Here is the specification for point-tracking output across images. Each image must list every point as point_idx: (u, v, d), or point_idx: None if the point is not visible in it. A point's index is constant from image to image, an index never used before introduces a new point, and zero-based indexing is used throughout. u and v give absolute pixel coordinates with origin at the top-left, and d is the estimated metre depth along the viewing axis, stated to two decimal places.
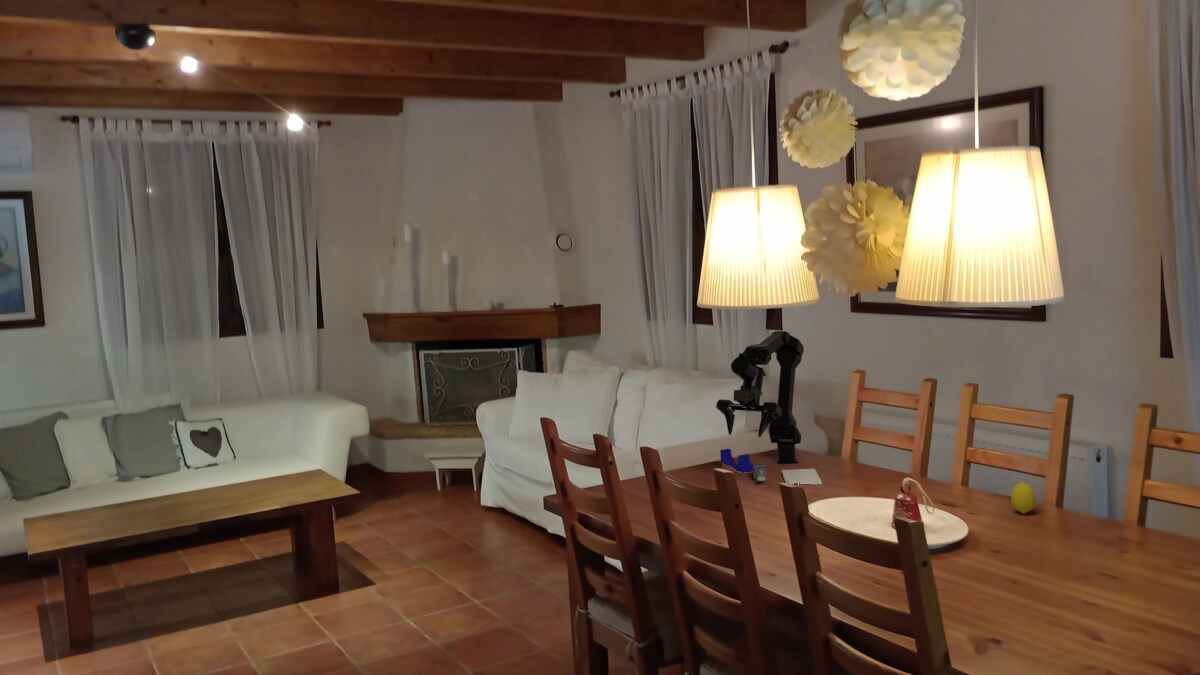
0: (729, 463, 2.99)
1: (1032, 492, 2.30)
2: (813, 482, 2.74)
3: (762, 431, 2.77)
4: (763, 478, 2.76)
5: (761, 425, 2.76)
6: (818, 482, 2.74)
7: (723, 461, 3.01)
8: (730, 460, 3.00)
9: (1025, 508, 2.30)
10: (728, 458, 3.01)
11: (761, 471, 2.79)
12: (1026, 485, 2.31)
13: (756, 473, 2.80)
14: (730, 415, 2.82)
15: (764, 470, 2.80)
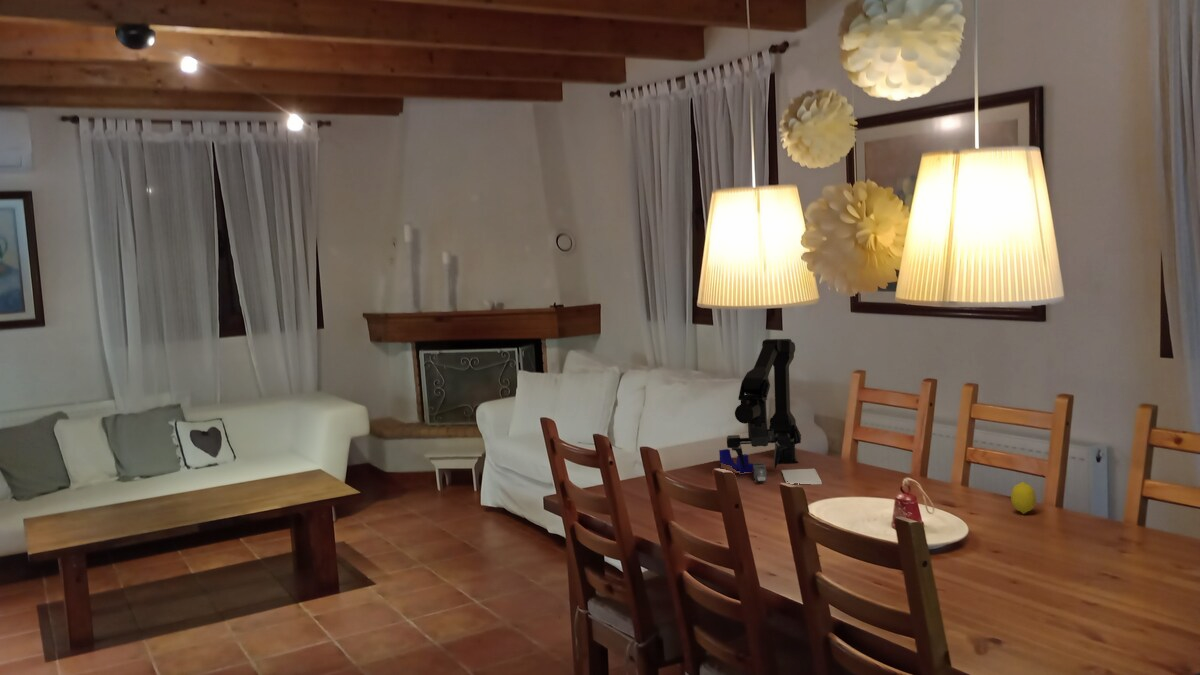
0: (728, 463, 2.99)
1: (1032, 492, 2.30)
2: (813, 482, 2.74)
3: None
4: (763, 478, 2.76)
5: (776, 458, 2.82)
6: (818, 482, 2.74)
7: (722, 461, 3.00)
8: (729, 460, 3.00)
9: (1025, 508, 2.30)
10: (727, 458, 3.00)
11: (761, 471, 2.79)
12: (1026, 485, 2.31)
13: (756, 473, 2.80)
14: None
15: (764, 470, 2.80)
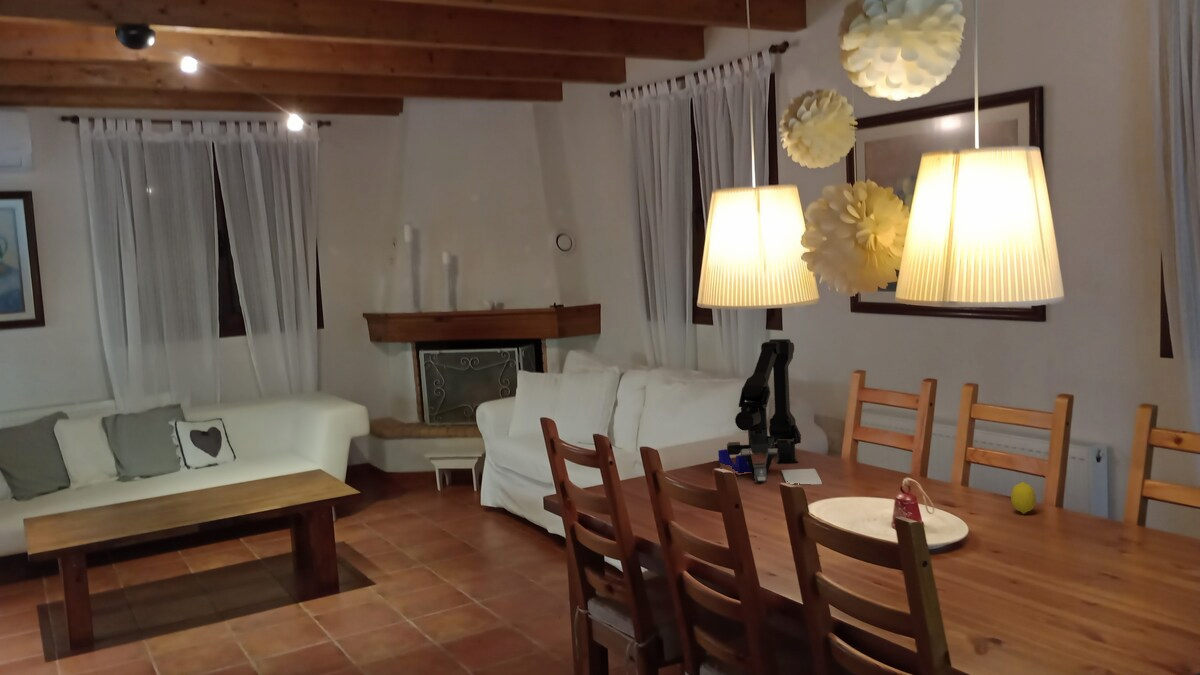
0: (727, 464, 2.99)
1: (1032, 492, 2.30)
2: (813, 482, 2.74)
3: None
4: (763, 478, 2.76)
5: (768, 465, 2.83)
6: (818, 482, 2.74)
7: (721, 461, 3.00)
8: (728, 461, 3.00)
9: (1025, 508, 2.30)
10: (726, 458, 3.00)
11: (761, 471, 2.79)
12: (1026, 485, 2.31)
13: (756, 473, 2.80)
14: (751, 458, 2.83)
15: (764, 470, 2.80)
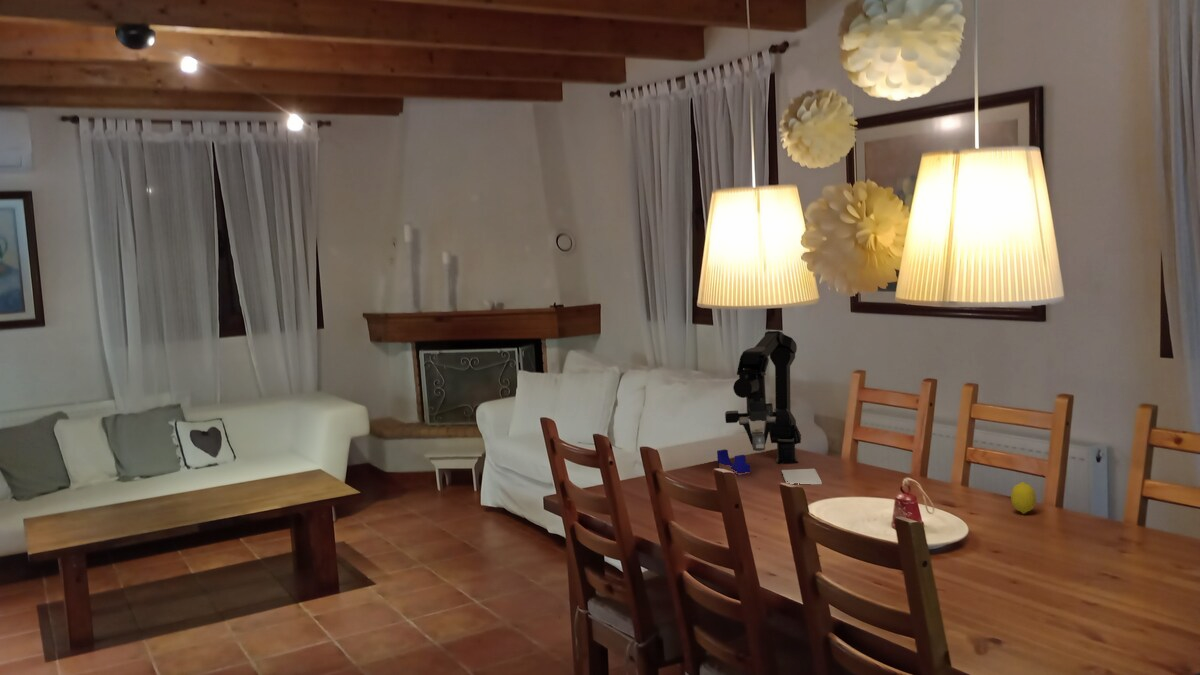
0: (726, 464, 2.98)
1: (1032, 492, 2.30)
2: (813, 482, 2.74)
3: (766, 437, 2.83)
4: (761, 445, 2.75)
5: (766, 433, 2.82)
6: (818, 482, 2.74)
7: (720, 462, 3.00)
8: (727, 461, 2.99)
9: (1025, 508, 2.30)
10: (725, 458, 3.00)
11: (759, 439, 2.78)
12: (1026, 485, 2.31)
13: (754, 441, 2.79)
14: (749, 426, 2.82)
15: (762, 438, 2.79)
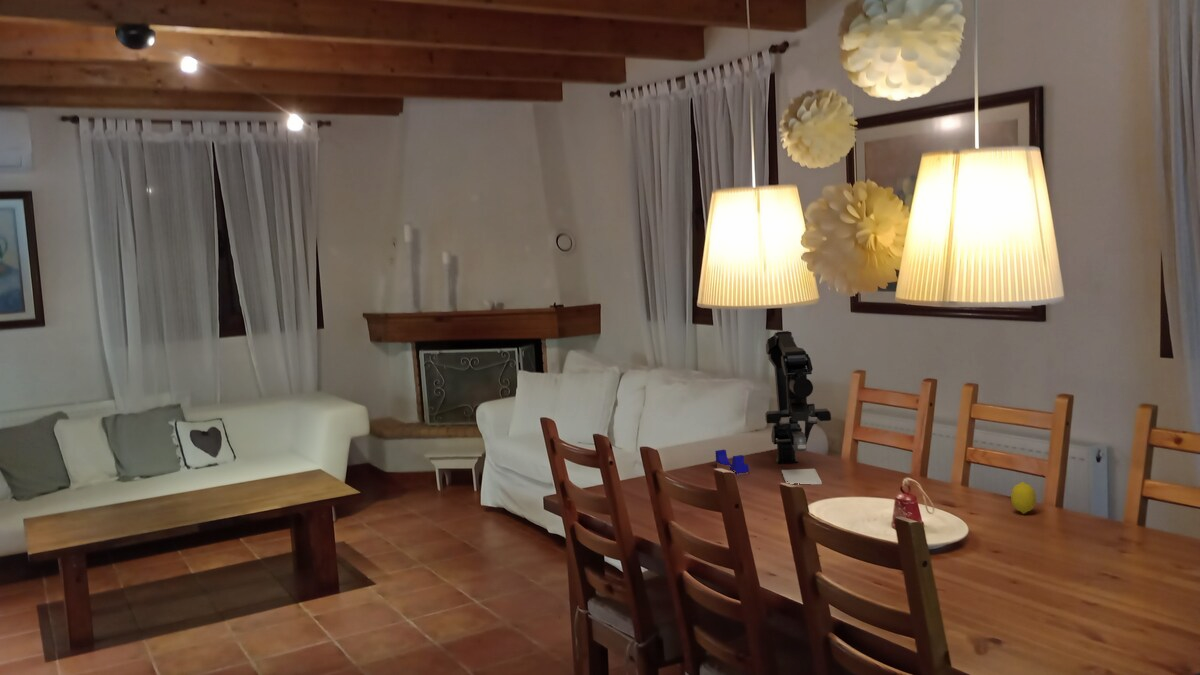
0: (724, 464, 2.98)
1: (1032, 492, 2.30)
2: (813, 482, 2.74)
3: (807, 438, 2.82)
4: (803, 446, 2.74)
5: (807, 434, 2.81)
6: (818, 482, 2.74)
7: (718, 462, 3.00)
8: (725, 461, 2.99)
9: (1025, 508, 2.30)
10: (724, 459, 3.00)
11: (801, 439, 2.77)
12: (1026, 485, 2.31)
13: (796, 441, 2.78)
14: (790, 426, 2.81)
15: (804, 438, 2.78)
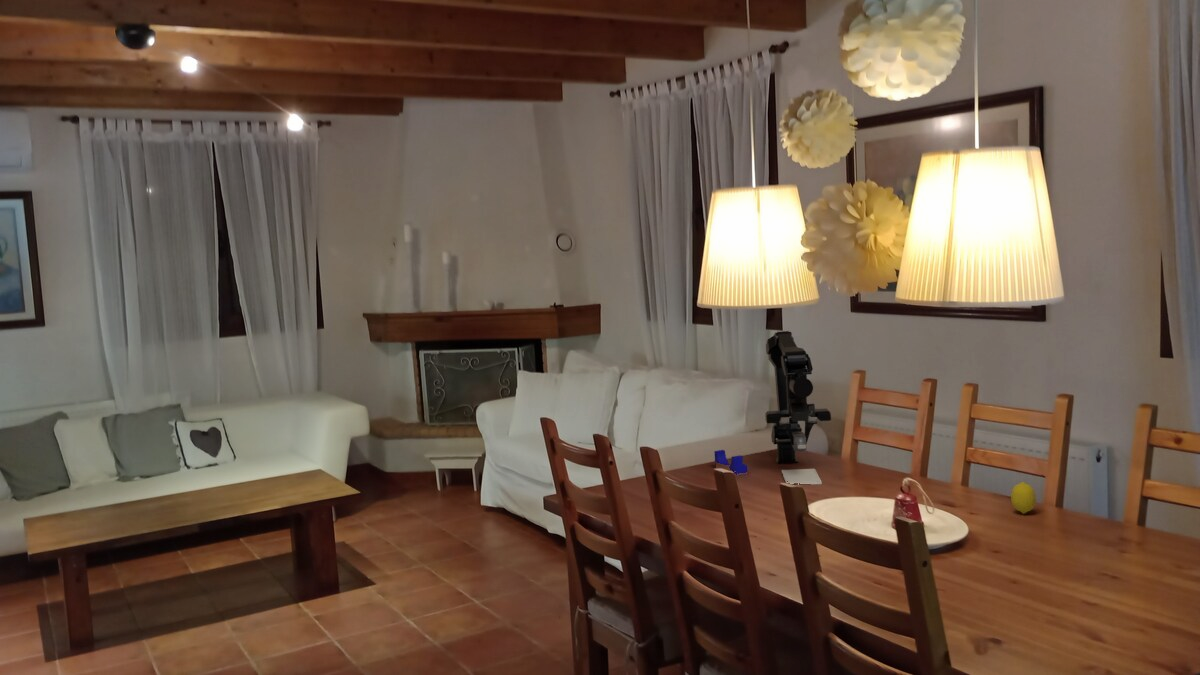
0: None
1: (1032, 492, 2.30)
2: (813, 482, 2.74)
3: (807, 438, 2.82)
4: (803, 446, 2.74)
5: (807, 434, 2.81)
6: (818, 482, 2.74)
7: (717, 462, 2.99)
8: (724, 461, 2.99)
9: (1025, 508, 2.30)
10: (723, 459, 2.99)
11: (801, 439, 2.77)
12: (1026, 485, 2.31)
13: (796, 441, 2.78)
14: (790, 426, 2.81)
15: (804, 438, 2.78)
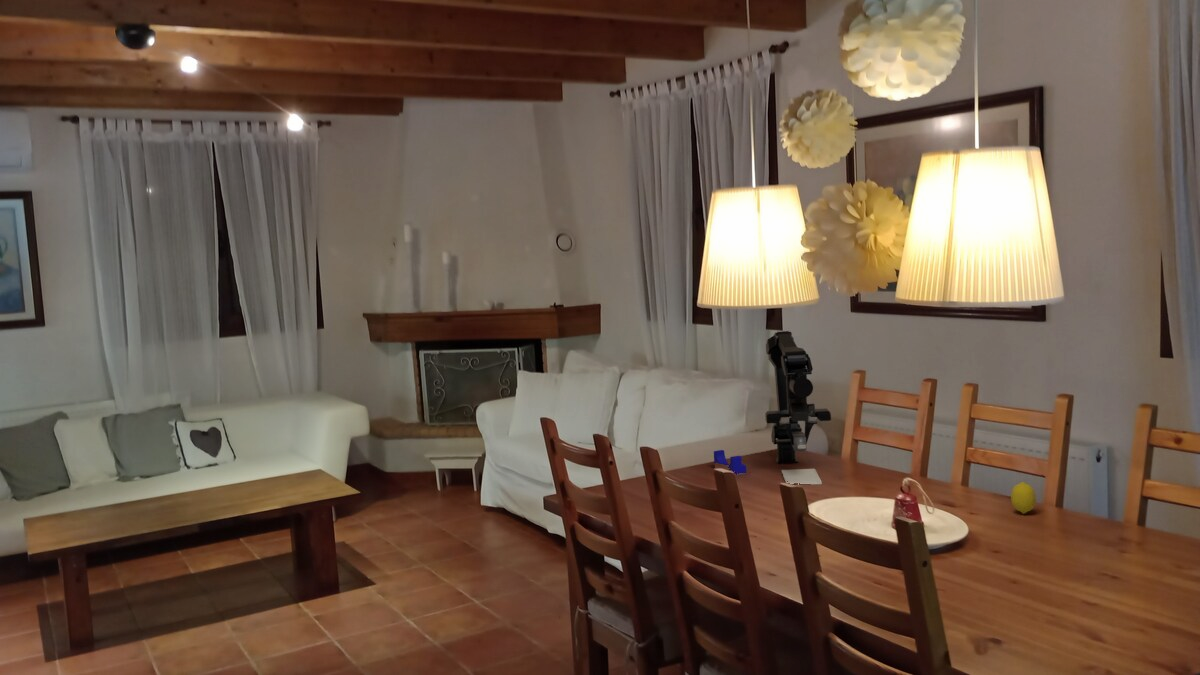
0: None
1: (1032, 492, 2.30)
2: (813, 482, 2.74)
3: (807, 438, 2.82)
4: (803, 446, 2.74)
5: (807, 434, 2.81)
6: (818, 482, 2.74)
7: None
8: (723, 461, 2.99)
9: (1025, 508, 2.30)
10: (722, 459, 2.99)
11: (801, 439, 2.77)
12: (1026, 485, 2.31)
13: (796, 441, 2.78)
14: (790, 426, 2.81)
15: (804, 438, 2.78)
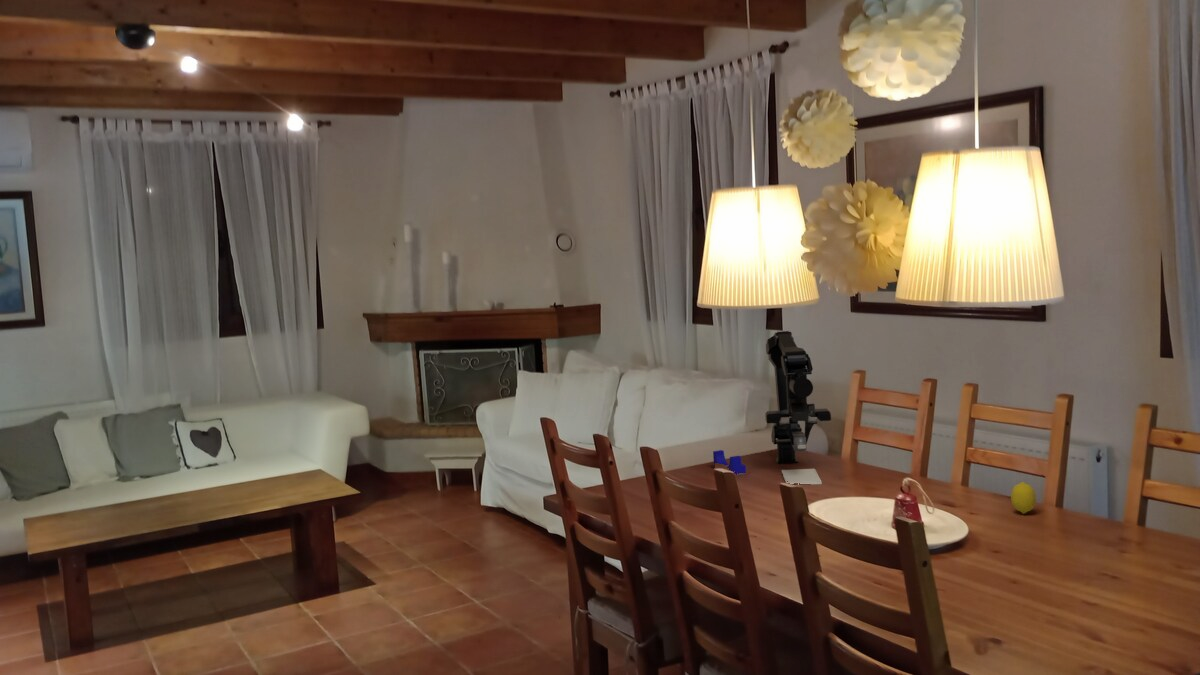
0: None
1: (1032, 492, 2.30)
2: (813, 482, 2.74)
3: (807, 438, 2.82)
4: (803, 446, 2.74)
5: (807, 434, 2.81)
6: (818, 482, 2.74)
7: None
8: (723, 462, 2.99)
9: (1025, 508, 2.30)
10: (721, 459, 2.99)
11: (801, 439, 2.77)
12: (1026, 485, 2.31)
13: (796, 441, 2.78)
14: (790, 426, 2.81)
15: (804, 438, 2.78)
